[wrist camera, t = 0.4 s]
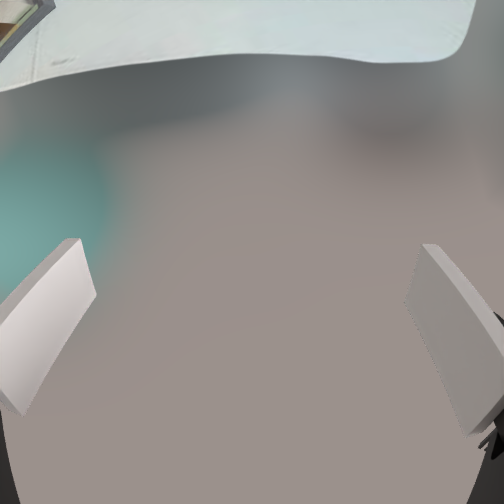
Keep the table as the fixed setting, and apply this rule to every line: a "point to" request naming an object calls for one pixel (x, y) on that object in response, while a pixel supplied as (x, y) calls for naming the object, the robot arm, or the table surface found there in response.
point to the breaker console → (20, 20)
